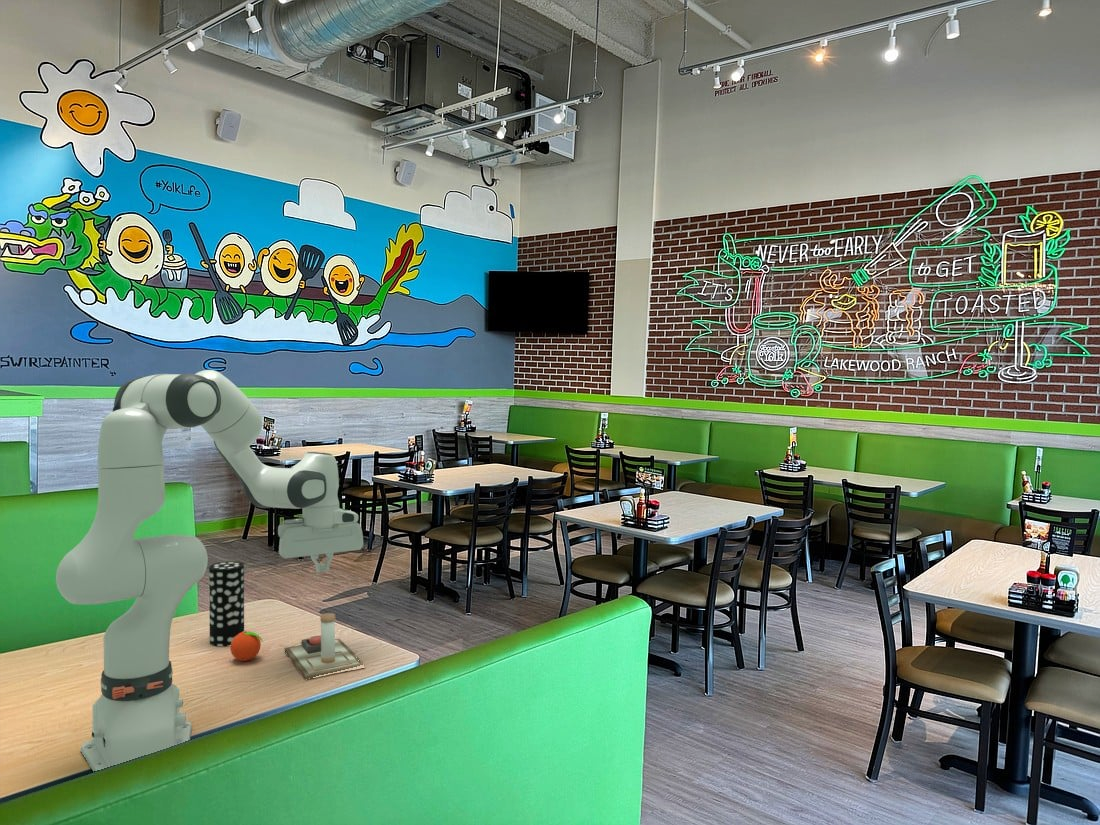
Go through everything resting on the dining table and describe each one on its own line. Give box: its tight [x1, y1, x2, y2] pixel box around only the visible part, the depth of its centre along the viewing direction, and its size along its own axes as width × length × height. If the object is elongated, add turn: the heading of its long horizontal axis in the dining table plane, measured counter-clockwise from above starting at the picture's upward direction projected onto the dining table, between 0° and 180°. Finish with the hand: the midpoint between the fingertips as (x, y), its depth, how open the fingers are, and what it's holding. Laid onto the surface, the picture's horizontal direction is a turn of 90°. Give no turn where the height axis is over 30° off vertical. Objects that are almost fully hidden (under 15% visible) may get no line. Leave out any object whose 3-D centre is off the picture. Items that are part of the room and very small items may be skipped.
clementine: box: [229, 630, 264, 662], centre depth 187 cm, size 8×7×7 cm
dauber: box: [319, 612, 336, 663], centre depth 185 cm, size 3×3×11 cm
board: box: [283, 637, 364, 680], centre depth 188 cm, size 20×14×3 cm
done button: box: [308, 635, 321, 646], centre depth 193 cm, size 4×4×2 cm
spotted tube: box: [208, 560, 245, 647], centre depth 199 cm, size 8×8×20 cm
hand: (322, 571), depth 191 cm, fingers closed
